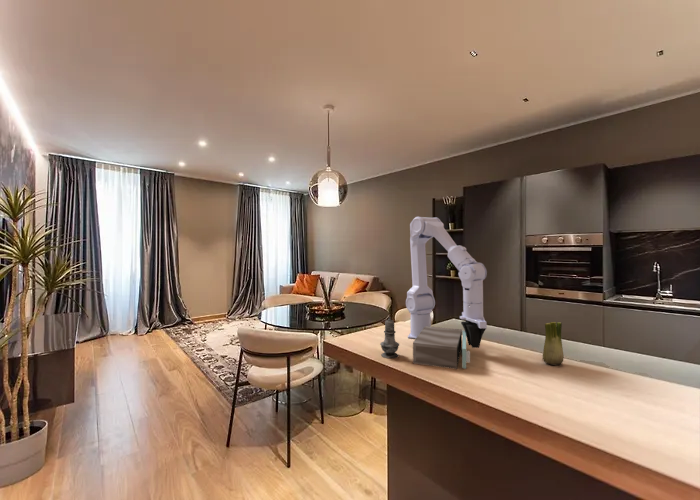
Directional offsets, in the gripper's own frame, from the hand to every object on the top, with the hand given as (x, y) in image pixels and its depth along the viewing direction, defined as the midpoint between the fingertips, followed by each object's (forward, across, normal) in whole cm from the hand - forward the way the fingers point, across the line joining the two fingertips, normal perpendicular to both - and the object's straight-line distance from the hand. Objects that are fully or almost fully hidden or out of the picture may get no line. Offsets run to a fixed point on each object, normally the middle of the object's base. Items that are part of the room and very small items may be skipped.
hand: (473, 346), depth 101 cm
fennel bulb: (+3, +8, +19) cm, 21 cm away
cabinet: (+2, 0, -11) cm, 11 cm away
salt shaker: (+2, 0, -26) cm, 26 cm away
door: (+2, +2, -3) cm, 5 cm away
